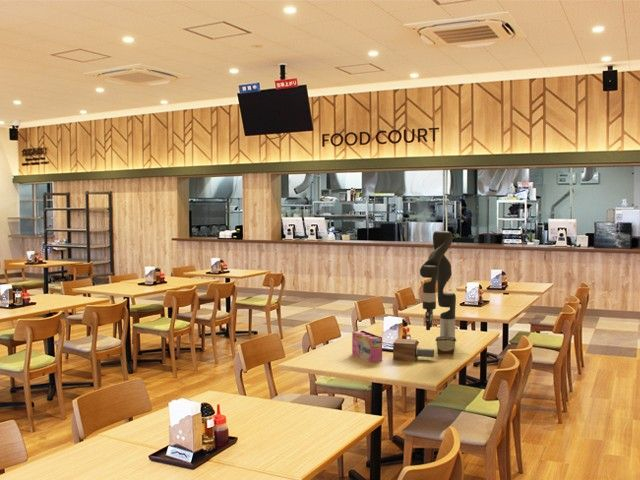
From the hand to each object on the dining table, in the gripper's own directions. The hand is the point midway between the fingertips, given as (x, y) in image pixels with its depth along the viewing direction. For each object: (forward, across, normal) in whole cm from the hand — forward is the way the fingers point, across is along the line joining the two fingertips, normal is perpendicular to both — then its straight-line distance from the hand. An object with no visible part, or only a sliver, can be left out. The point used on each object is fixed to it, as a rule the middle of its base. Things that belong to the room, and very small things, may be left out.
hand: (429, 328), depth 376 cm
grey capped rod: (+17, 0, -7) cm, 18 cm away
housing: (+18, 0, -14) cm, 23 cm away
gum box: (+18, +3, -36) cm, 40 cm away
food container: (+18, -18, +8) cm, 27 cm away
